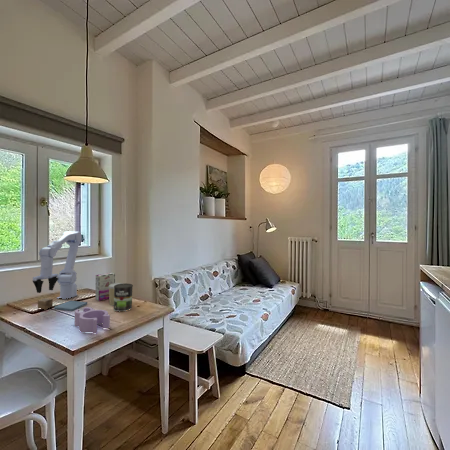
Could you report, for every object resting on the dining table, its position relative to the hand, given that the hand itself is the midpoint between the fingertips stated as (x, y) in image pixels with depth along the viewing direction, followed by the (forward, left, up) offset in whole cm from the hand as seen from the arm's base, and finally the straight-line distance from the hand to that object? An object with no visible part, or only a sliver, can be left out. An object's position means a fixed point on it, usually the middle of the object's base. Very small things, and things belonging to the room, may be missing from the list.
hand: (45, 291), depth 148 cm
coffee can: (-11, +43, -10) cm, 46 cm away
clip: (+15, +42, -10) cm, 46 cm away
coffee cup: (-18, +34, -10) cm, 40 cm away
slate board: (-6, +12, -10) cm, 17 cm away
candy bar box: (-25, +21, -10) cm, 34 cm away
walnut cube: (0, 0, -10) cm, 10 cm away
